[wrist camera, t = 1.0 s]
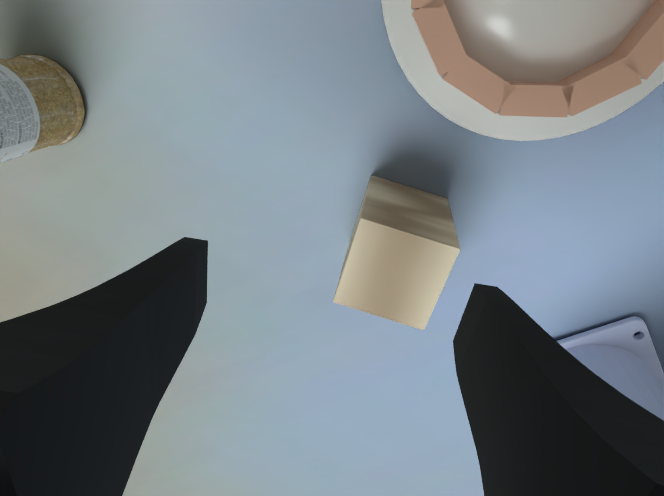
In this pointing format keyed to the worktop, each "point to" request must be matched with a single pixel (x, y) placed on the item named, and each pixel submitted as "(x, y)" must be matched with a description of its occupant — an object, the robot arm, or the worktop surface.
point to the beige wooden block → (398, 253)
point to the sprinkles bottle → (36, 105)
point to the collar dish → (528, 60)
